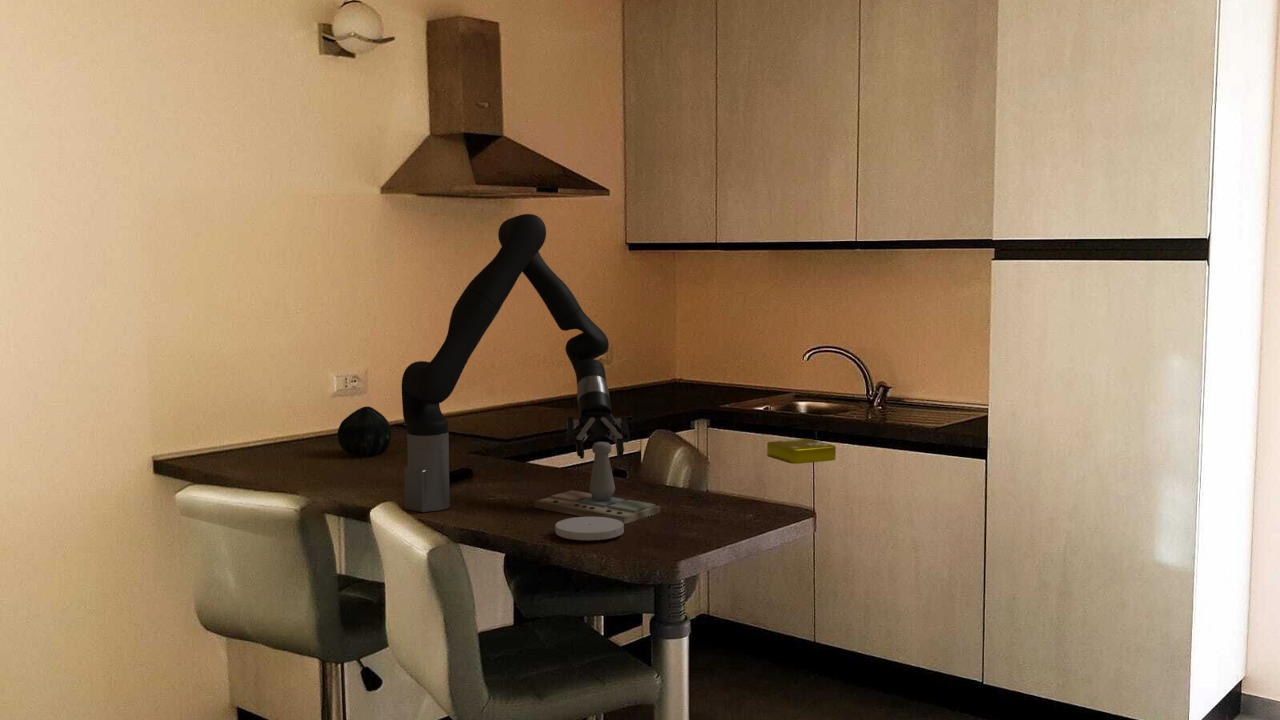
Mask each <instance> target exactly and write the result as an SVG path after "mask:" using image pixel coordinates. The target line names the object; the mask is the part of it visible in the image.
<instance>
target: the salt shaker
mask: <svg viewBox="0 0 1280 720" xmlns="http://www.w3.org/2000/svg"><path fill="white" fill-rule="evenodd" d="M591 449H592V450H591V451H592V453H593V454H594V457H593V465H592V471H591V476H590V481H589V488H588V489H589V493H590V494H591V495H592V498H593V499H594V500H596V501H607V500H611V497H613V495H614V493H615V491H616V487H615V481H614V476H613V471H612V467H611V462H610V458H609V457H610V456H609V454H610V453H611V452H612V444H611V443H610V442H607V441H597V442H594V443H593V444H592V448H591Z"/></svg>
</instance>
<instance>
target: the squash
mask: <svg viewBox="0 0 1280 720" xmlns="http://www.w3.org/2000/svg"><path fill="white" fill-rule="evenodd" d="M337 440H338V443H339V445H340V448H342V449H341V450H343V451H344V452H346V453H348V454H351V455H352V454H354V455H361V456H362V457H367V456H371V457H375V456H377V455H381V454H383V453H385V452H386V451H387V449H389V447H390V444H391V442H392V431H391V424H390V423H389V421H388V419H387V418H386V417H385V415H384V414H383V413H381V412H379V411H377V410H376V409H375V408H374V407H371V406H369V405H368V406H362V407H361V408H358V409H356V410H355V411H352V413H350V414H349V415H348V416H346V417H345V418H344V419H343V420H342V421H341V422H340V424H339V427H338V429H337Z"/></svg>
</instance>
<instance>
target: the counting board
mask: <svg viewBox="0 0 1280 720" xmlns="http://www.w3.org/2000/svg"><path fill="white" fill-rule="evenodd" d="M533 502H534V503H533V504H534V506H533V507H534V509H541V510H546V511H552V512H556V513H557V512H558V513H562V514H568V515H573V516H577V517H605V518H606V517H607V518H612V519H616V520H619V521H621V522H623V524H624V525H626V524H630V523H632V522H635V521H639V520H642V519H645V517H646V518H649V517H652V516H656V515H658V513H659V514H661V506H660V505H656V504H655V503H650V502H643V501H639V500H633V499H627V500H626V499H625V498H620V497H614V496H612V497H611V500H607V501H596V500H594V499H593V498H592V495H591V493H590V492H583V491H579V490H578V491H577V490H568V491H565V492H560V493H556V494H553V495H550V496H549V497H545V498H541V499H538V500H534V501H533ZM651 515H652V516H651ZM648 516H649V517H648Z"/></svg>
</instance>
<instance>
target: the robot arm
mask: <svg viewBox="0 0 1280 720" xmlns="http://www.w3.org/2000/svg"><path fill="white" fill-rule="evenodd" d="M497 234H498V236H497V237H498V241H499V244H500V246H501V247H500V248H499V250H498V252H497V254H496V255H495V256H494V257H493V258H492V260H491V261H490V262H489V263H488V264H487V265H485V267H484V268H483V269H482V270H481V271H479V273H477V275H476V276H474V277H473V279H472V280H471V281H470V282H469V284H468V285H467V286H466V287H465V289H464V290H463V292H462V293H461V295H460V296H459V298H458V300H457V301H456V302H455V304H454V306H453V308H452V311H451V314H450V319H449V324H448V330H447V333H446V334H447V335H446V337H445V340H444V342H443V343H442V345H441V347H440V348H439V350H438V351H437V353H436V354H435V355H434V357H433V358H432V359H431V361H423V360H421V361H419V360H418V361H414V362H412V363H410V364H409V365H408V366H407V367H406V369H405V370H404V372H403V374H402V378H401V402H402V403H401V404H402V417H403V420H404V422H405V425H406V444H407V446H406V448H407V453H406V454H407V466H405V467H404V468H403V470H404V471H403V472H404V473H403V474H404V478H403V479H404V509H405V510H409V511H415V512H419V513H426V512H438V511H442V510H443V511H444V510H446V509H448V508H450V458H449V457H450V455H449V454H450V453H449V452H450V451H449V449H450V448H449V447H450V445H449V440H450V439H449V438H450V437H449V421H448V419H447V418H446V417H445V416H444V414H443V413H442V410H441V408H440V404H441V403H443V402H445V401H446V400H447V399H448V398H450V396H451V394H452V393H453V391H454V390H455V388H456V386H457V383H458V382H459V379H460V377H461V375H462V373H463V372H464V369H465V366H466V365H467V363H468V361H469V359H470V357H471V356H472V354H473V353H474V351H475V349H476V348H477V346H478V344H479V343H480V341H481V339H482V338H483V336H484V335H485V333H486V332H487V330H488V329H489V328H490V326H491V325H492V323H493V321H494V320H495V319H496V316H497V315H498V313H499V311H500V310H501V309H502V306H503V305H504V302H505V301H506V299H507V298H508V296H509V294H510V293H511V291H512V289H513V288H514V286H515V285H516V283H517V281H518V279H519V278H520V276H521V274H523V275H524V277H526V278H527V279H528V282H530V284H531V285H532V287H533V288H534V290H535V291H536V292H537V294H538V295H539V296H540V298H541V300H542V302H543V303H544V305H545V306H546V308H547V309H548V311H549V313H550V315H551V316H552V318H553V320H554V322H555V323H556V324H557V327H558V328H559V330H560V331H564V332H566V331H571V330H578V331H580V332H581V333H579V334H577V335H575V336H573V337H571V338H569V339H568V341H566V345H565V347H564V348H565V353H566V355H567V357H568V360H569V361H570V363H571V365H572V367H573V370H574V373H575V378H576V387H577V390H576V392H577V393H576V401H577V403H578V405H577V406H578V412H579V418H578V419H574V418H573V417H572V416H568V418H567V420H566V421H567V422H566V435H567V437H566V440H567V444H568V445H572V444H573V445H575V448H576V455H577V456H578V457H579V458H580V459H582V460H584V458H585V448H584V442H585V441H586V440H587V438H589V436H590V437H591V438H596V437H598V438H599V437H600V438H604V437H606V438H608V439H609V440H611V441H613V442H614V443H615V449H616V450H615V451H616V456H617V458H622V456H623V455H624V452H625V448H624V447H625V446H624V443H629V442H630V437H631V432H630V428H629V423H628V418H627V416H626V415H622V416H621V417H620V418H619V417H618V418H615V417H614V415H613V411H612V406H611V397H610V391H609V387H608V386H609V385H608V384H607V383H608V382H607V377H606V370H605V366H604V364H603V362H601V361H600V360H598V359H597V358H599V357H601V356H604V355H605V354H606V353H607V352H608V350H609V348H610V347H609V346H610V344H609V339H608V336H607V335H606V334H605V332H604V331H603V330H602V329H601V328H600V327H599V326H598V325H597V324H596V323H595V322H593V321H592V320H591V318H590V317H589V316H588V315H587V314H586V313H585V312H584V310H583V309H582V306H580V304H579V302H578V300H577V298H576V297H575V295H574V294H573V292H572V291H571V289H570V288H569V287H568V285H567V284H566V283H565V282H564V281H563V279H561V278H560V277H559V276H558V275H557V274H556V273H555V272H554V271H553V270H552V269H551V268H550V267H549V265H548V264H547V263H546V261H545V259H544V258H543V257H542V255H541V254H540V250H541V248H542V247H543V246H544V243H545V241H546V236H547V228H546V224H545V222H544V220H543V219H542V218H541V217H539V216H538V215H536V214H534V213H533V214H532V213H523V214H519V215H515V216H513V217H510V218H508V219H506V220H504V221H503V222H502V223H501V224H500V225H499V229H498V233H497ZM615 425H616V426H617V427H618V428H619V429H621V433H620V432H619V431H618V429H617V428H616V427H615ZM577 426H579V428H581V429H580V432H579V433H578V434H577V435H574V434H575V433H574V430H575V429H576V428H577Z"/></svg>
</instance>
